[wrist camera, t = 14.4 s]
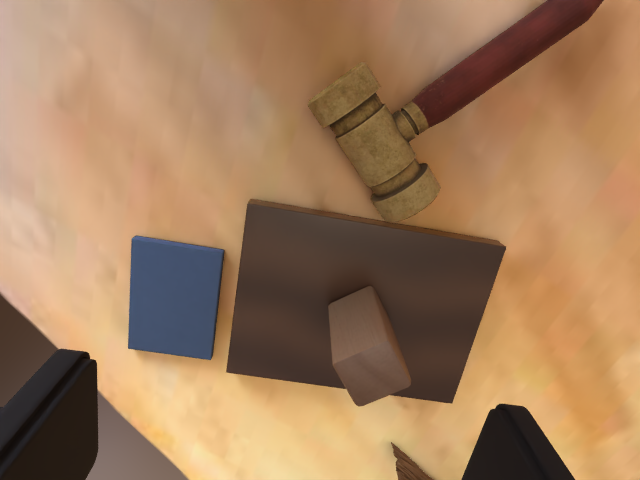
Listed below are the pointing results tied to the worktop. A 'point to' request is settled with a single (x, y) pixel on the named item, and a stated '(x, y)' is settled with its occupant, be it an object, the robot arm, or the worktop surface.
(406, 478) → the wood plank
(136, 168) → the worktop surface
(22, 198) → the worktop surface
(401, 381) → the wooden block
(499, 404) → the robot arm
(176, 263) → the blue box
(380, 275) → the walnut board
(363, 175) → the gavel
